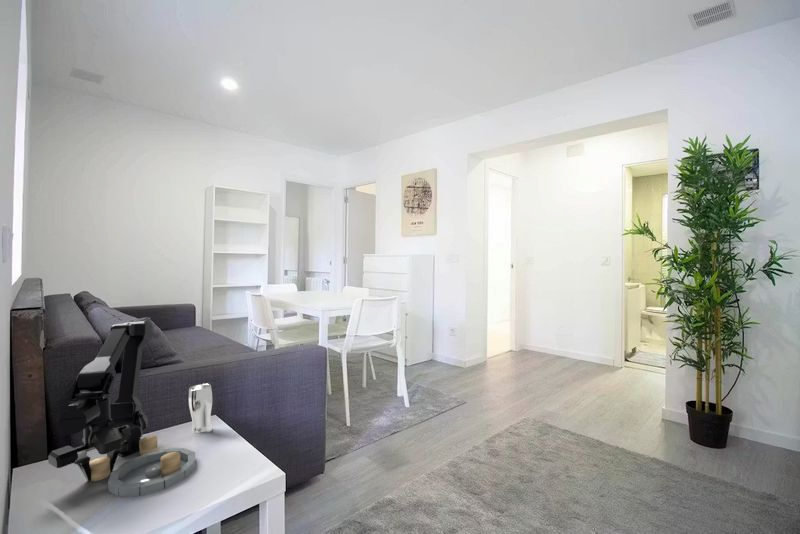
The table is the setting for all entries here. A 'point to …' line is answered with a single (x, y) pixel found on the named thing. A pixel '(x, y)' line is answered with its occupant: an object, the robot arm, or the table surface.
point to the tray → (149, 473)
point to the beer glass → (200, 407)
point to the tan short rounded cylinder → (170, 463)
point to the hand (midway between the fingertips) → (99, 476)
